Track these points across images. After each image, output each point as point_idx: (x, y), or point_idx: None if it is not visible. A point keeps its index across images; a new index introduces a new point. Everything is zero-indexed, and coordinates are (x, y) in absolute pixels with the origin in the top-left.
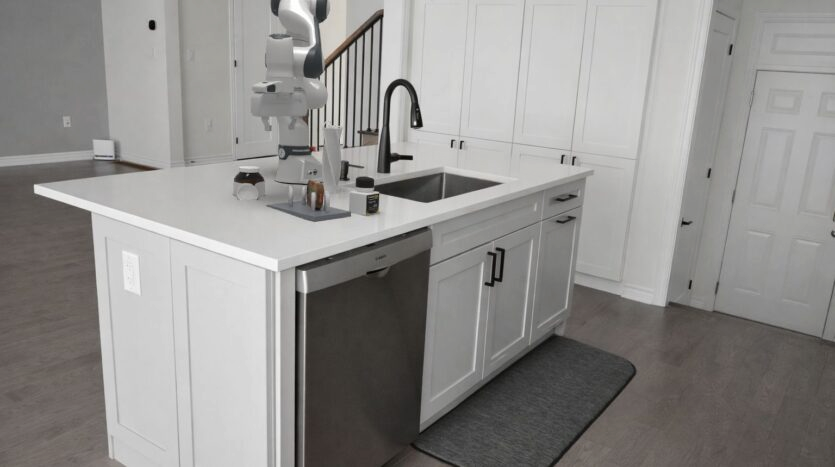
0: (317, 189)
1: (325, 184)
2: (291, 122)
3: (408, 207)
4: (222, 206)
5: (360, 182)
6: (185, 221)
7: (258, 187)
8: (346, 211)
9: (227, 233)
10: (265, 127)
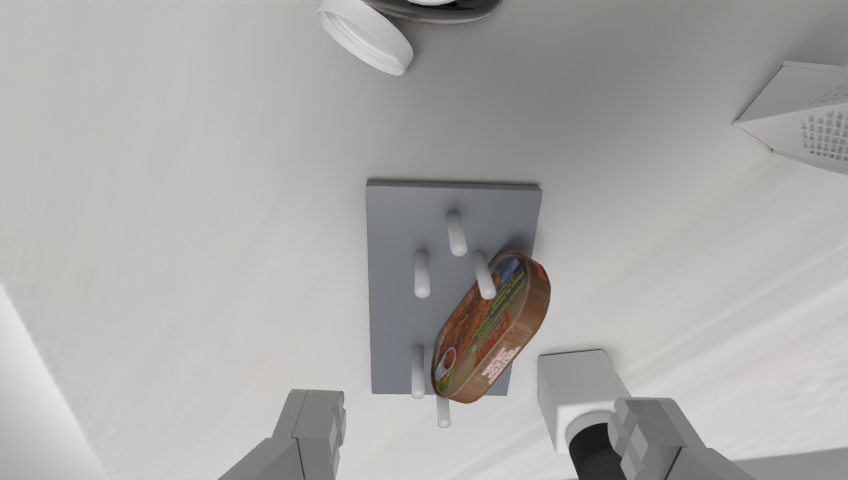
0: (441, 396)
1: (801, 116)
2: (705, 478)
3: (746, 383)
4: (246, 24)
5: (575, 467)
6: (30, 203)
7: (442, 21)
8: (498, 388)
9: (110, 371)
10: (283, 425)
